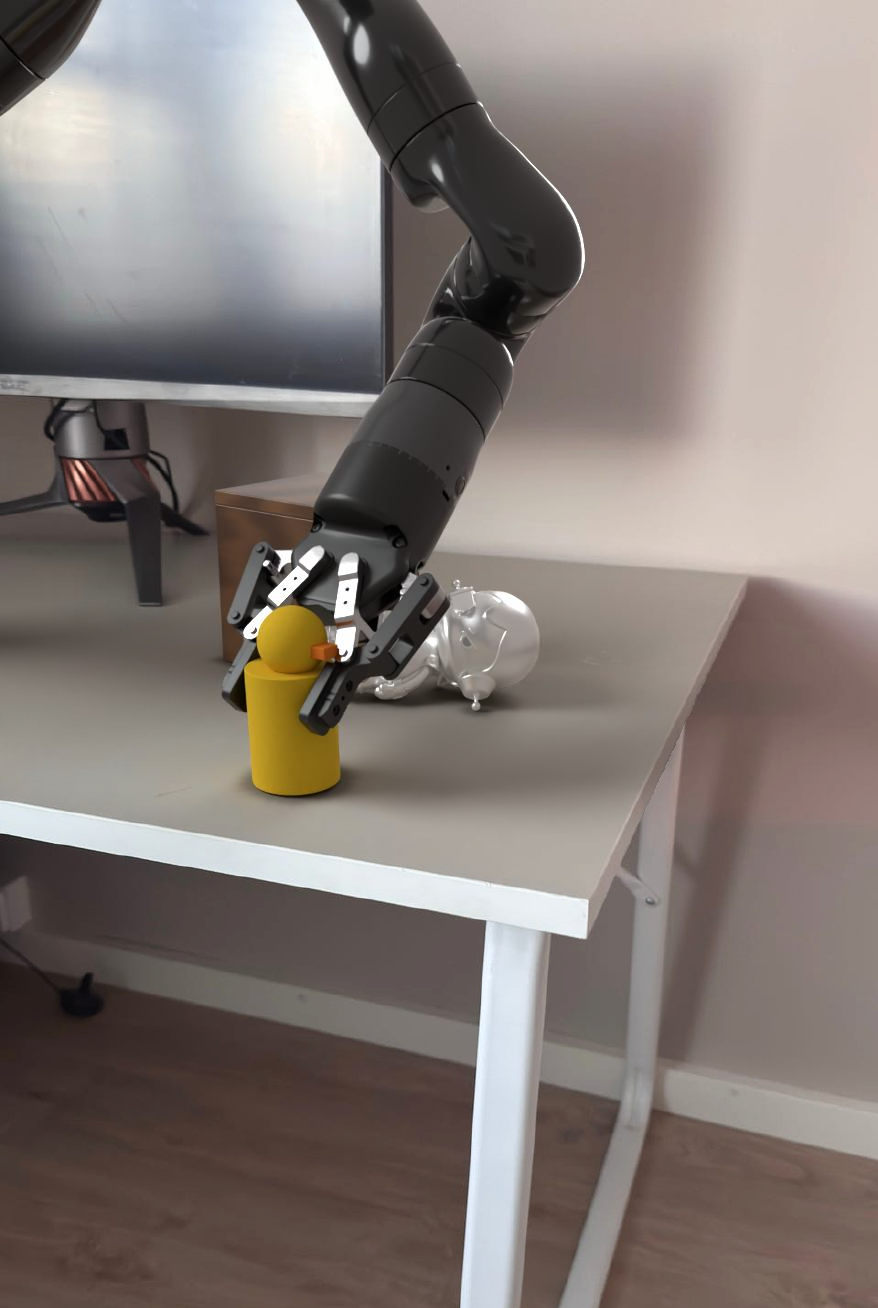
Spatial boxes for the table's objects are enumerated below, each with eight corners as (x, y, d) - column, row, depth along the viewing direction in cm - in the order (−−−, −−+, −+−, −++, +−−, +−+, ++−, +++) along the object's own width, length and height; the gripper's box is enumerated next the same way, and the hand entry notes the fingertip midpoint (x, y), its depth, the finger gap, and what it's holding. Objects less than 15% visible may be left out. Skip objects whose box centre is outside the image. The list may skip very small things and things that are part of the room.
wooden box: (222, 660, 91) (214, 489, 86) (323, 627, 100) (321, 472, 95) (321, 686, 86) (318, 506, 81) (418, 649, 95) (421, 486, 90)
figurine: (315, 577, 83) (525, 540, 82) (334, 628, 89) (529, 595, 89) (329, 711, 79) (550, 674, 78) (348, 753, 85) (552, 720, 85)
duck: (234, 782, 69) (220, 608, 65) (293, 756, 73) (283, 590, 69) (307, 805, 66) (297, 624, 62) (365, 776, 70) (360, 604, 66)
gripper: (281, 426, 72) (145, 658, 67) (477, 449, 64) (338, 713, 60) (337, 502, 78) (216, 720, 74) (522, 532, 70) (399, 776, 66)
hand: (272, 715), depth 67 cm, fingers closed on duck, 5 cm apart
